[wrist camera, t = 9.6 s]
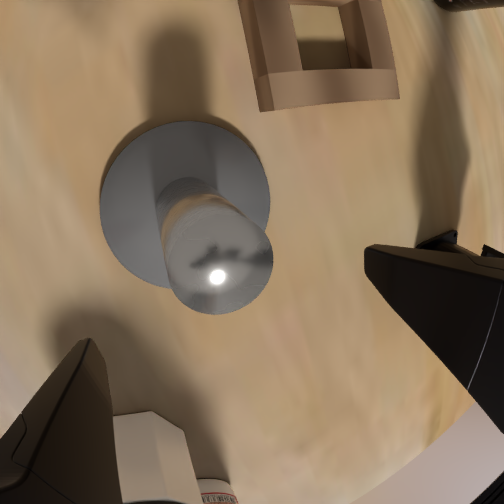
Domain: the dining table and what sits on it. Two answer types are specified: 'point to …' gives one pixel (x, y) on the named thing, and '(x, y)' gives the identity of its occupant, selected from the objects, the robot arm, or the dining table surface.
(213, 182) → the coaster
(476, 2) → the supplement bottle
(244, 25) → the socket block
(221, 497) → the fruit juice
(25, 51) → the dining table surface
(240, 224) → the peg
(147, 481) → the jar
